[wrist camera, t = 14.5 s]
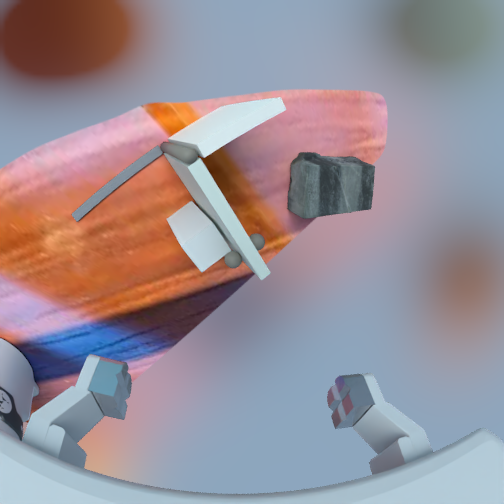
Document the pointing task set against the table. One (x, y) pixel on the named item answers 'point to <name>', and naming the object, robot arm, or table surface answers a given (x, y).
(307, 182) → the stone block
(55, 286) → the table surface
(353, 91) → the table surface
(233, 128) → the wall
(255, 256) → the door
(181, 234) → the light grey block
